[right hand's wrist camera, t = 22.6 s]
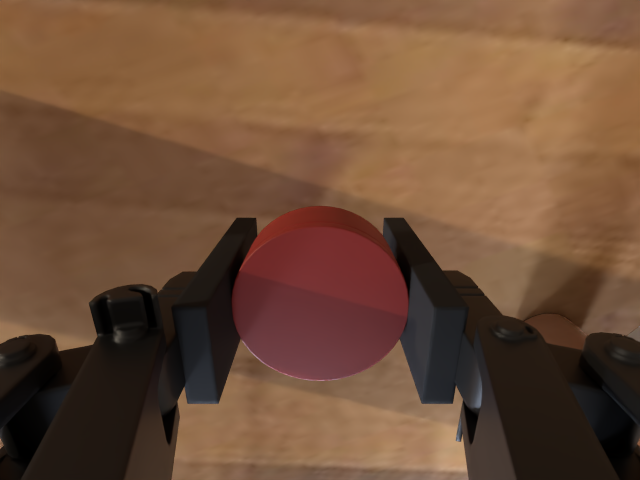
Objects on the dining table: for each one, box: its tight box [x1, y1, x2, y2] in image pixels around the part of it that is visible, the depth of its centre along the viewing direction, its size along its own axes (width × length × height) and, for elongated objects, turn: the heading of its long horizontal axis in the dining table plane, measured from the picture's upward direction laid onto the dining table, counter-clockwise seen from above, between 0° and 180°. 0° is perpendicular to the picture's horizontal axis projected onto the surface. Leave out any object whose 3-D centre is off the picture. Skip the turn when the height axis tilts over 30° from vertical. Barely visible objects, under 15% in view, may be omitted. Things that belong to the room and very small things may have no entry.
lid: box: [231, 206, 409, 381], centre depth 11 cm, size 5×5×2 cm
